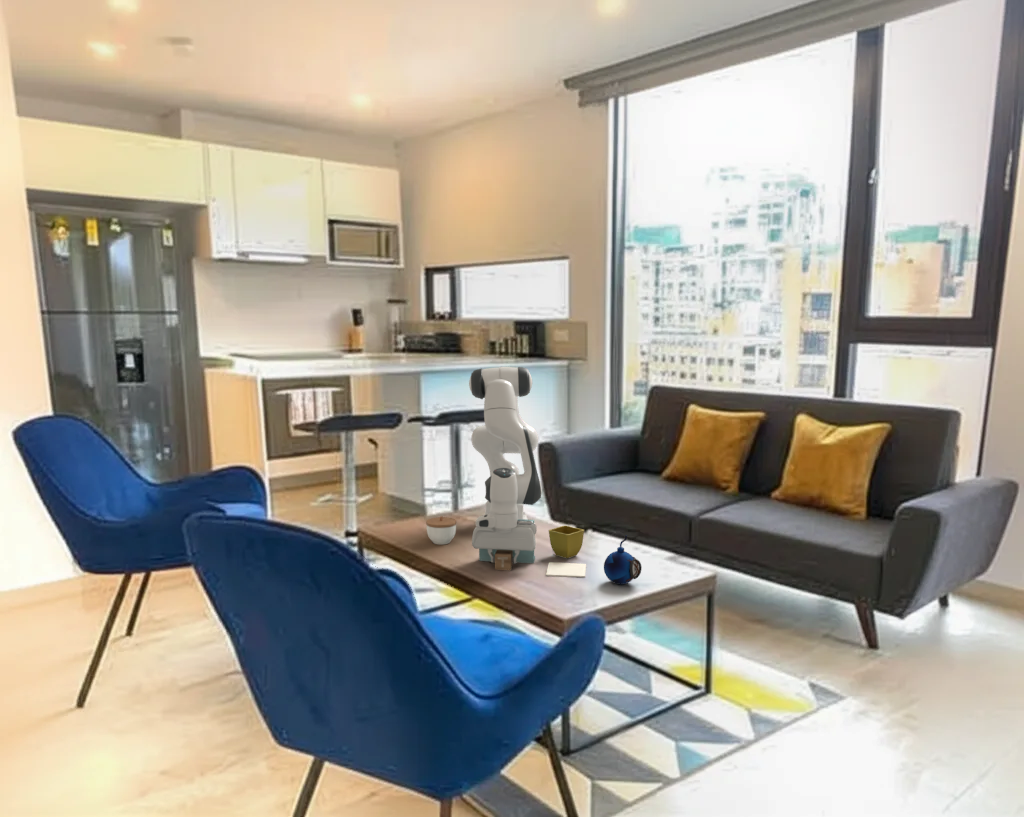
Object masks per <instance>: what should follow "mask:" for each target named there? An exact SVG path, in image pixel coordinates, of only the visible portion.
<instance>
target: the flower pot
mask: <svg viewBox="0 0 1024 817" xmlns="http://www.w3.org/2000/svg"><path fill="white" fill-rule="evenodd" d="M584 534H585V529H582V528H578V527H574V526H571V525H562V526H558V527H555V528H551V529H548V535H549V543H550V546H551V549H552V551H553V553H554V554H555V556H556V557H560V558H564V559H570V558H573V557H576V556H577V555H578V554H579V553H580V550H581V549H582V546H583V541H584Z"/></svg>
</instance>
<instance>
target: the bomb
mask: <svg viewBox="0 0 1024 817" xmlns="http://www.w3.org/2000/svg"><path fill="white" fill-rule="evenodd" d="M627 537H628V535H625V536H624V539H622V540H621V541H620V543H619V547H617V549H616V550H615V551H613V552H611V553H610V554H609V555H607V556H606V558H605V559H604V563H603V571H604V574H605V576H606V577H607V579H608V581H610V582H611V583H614V584H616V585H626V584H628V583H630V582H631V581H633V580H636V579H637V578H638V577H640V575H641V573H642V564H641V562H640V560H639V559H637V558H636V557H634V556H633V555H632V554H630V553H629V552H627V551H625V548H624V547H623V546H622V545H623V543H624V542H626V540H627V539H628V538H627Z"/></svg>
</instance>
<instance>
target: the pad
mask: <svg viewBox="0 0 1024 817" xmlns="http://www.w3.org/2000/svg"><path fill="white" fill-rule="evenodd" d="M586 571H587V563H573V562H570V563H569V562H550V561H549V562H548V566H547V570H546V573H545V576H547V577H567V578H586V575H587V574H586V573H587V572H586Z"/></svg>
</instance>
